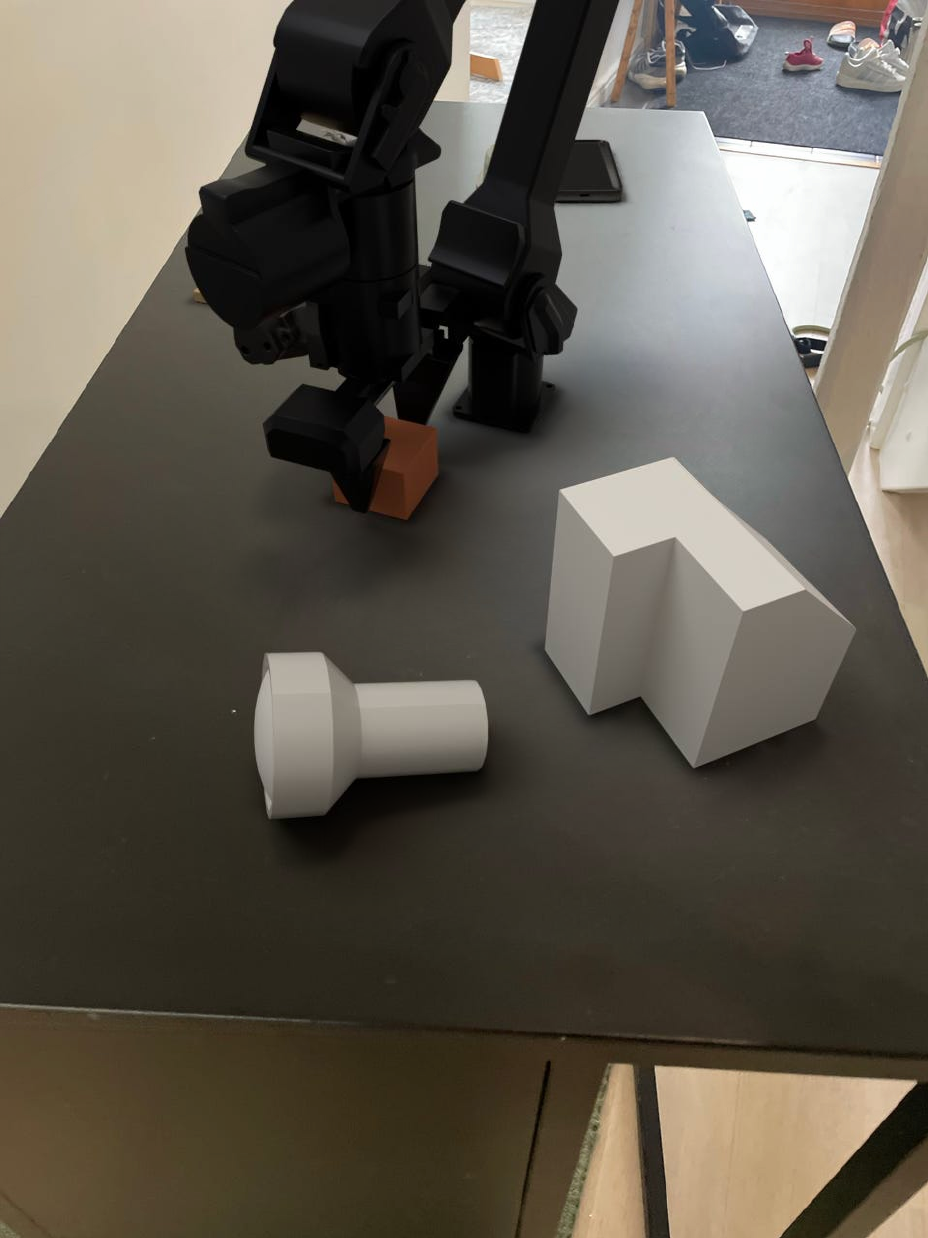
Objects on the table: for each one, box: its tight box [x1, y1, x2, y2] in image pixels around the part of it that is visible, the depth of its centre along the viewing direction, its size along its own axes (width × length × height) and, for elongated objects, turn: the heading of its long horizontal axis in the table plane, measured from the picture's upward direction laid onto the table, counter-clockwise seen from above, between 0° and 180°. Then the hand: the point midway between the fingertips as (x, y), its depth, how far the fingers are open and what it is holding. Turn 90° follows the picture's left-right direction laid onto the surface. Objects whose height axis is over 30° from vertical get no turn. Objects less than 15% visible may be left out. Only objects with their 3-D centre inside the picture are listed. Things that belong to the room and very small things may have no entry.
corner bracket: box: [544, 456, 857, 769], centre depth 48 cm, size 11×11×12 cm
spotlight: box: [253, 651, 489, 820], centre depth 46 cm, size 8×11×8 cm
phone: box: [556, 139, 623, 203], centre depth 102 cm, size 8×1×15 cm
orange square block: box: [331, 415, 439, 521], centre depth 63 cm, size 6×6×4 cm
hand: (386, 475), depth 64 cm, fingers open, 8 cm apart
